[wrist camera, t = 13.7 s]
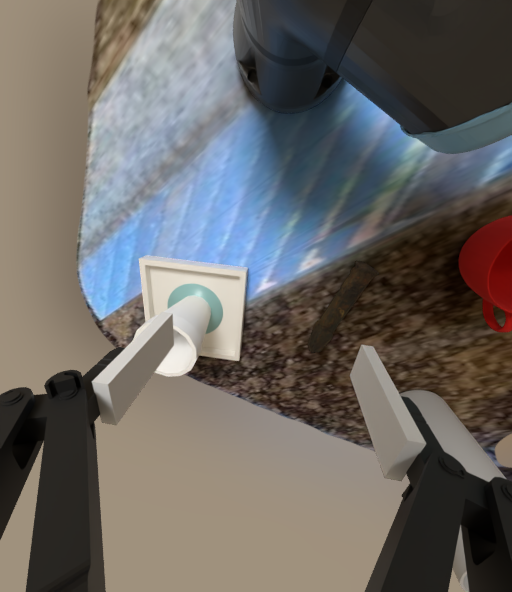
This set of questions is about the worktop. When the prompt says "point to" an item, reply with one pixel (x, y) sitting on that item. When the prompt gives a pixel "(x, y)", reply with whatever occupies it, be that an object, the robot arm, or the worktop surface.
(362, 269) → the hand tool
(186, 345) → the foam cup
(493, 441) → the worktop surface
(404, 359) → the worktop surface
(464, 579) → the cylinder vase
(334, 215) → the worktop surface
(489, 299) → the ceramic cup
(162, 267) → the square white tray
